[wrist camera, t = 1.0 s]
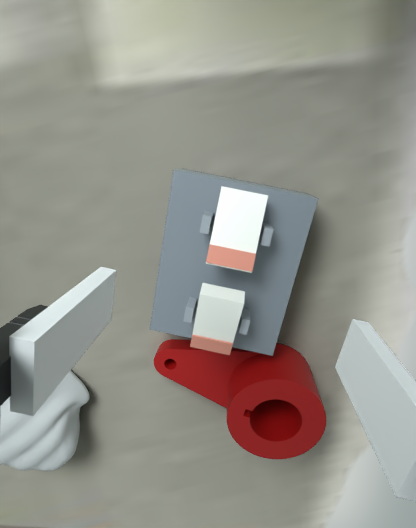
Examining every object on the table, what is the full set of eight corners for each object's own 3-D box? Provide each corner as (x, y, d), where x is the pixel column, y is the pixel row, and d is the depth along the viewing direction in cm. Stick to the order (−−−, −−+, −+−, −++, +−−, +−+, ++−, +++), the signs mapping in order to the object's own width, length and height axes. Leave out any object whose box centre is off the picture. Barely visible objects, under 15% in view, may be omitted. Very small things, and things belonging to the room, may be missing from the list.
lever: (322, 354, 36) (340, 394, 30) (295, 419, 39) (307, 469, 33) (166, 313, 36) (151, 344, 30) (151, 381, 39) (134, 422, 33)
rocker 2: (202, 282, 27) (199, 295, 26) (244, 291, 27) (244, 304, 25) (193, 333, 30) (189, 347, 29) (231, 341, 30) (229, 356, 29)
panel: (183, 168, 31) (167, 170, 24) (309, 193, 31) (329, 202, 24) (161, 307, 36) (143, 341, 29) (270, 330, 35) (278, 370, 29)
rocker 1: (221, 189, 26) (221, 185, 24) (265, 198, 26) (268, 195, 24) (206, 262, 26) (205, 263, 25) (249, 271, 26) (251, 273, 25)
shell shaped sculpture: (20, 443, 44) (-15, 489, 38) (-14, 363, 40) (-59, 399, 34) (110, 436, 42) (89, 483, 36) (83, 352, 39) (53, 387, 32)
